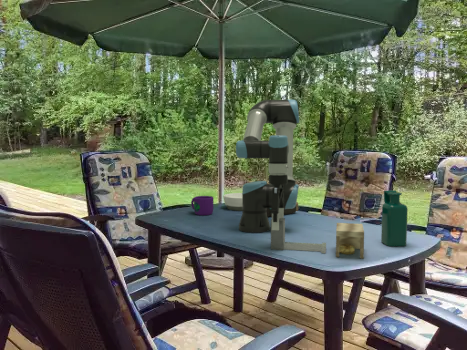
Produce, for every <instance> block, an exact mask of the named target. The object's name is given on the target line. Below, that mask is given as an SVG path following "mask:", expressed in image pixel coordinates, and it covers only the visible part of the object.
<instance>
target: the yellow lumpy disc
mask: <svg viewBox="0 0 467 350" xmlns="http://www.w3.org/2000/svg"><path fill="white" fill-rule="evenodd" d="M355 250H356V249H355V246H354V245H350V244H341V245H339V254H341V255H347V256H348V255H355Z"/></svg>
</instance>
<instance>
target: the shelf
mask: <svg viewBox="0 0 467 350" xmlns="http://www.w3.org/2000/svg"><path fill="white" fill-rule="evenodd" d="M335 231H336V234H335V235H336V236H335V237H336V238H335V257H336V258H340V253H339V245H341V244H350V245H354V246H355V250H357V249H358V250H359V258H360V259H362V260H363V259H364V257H365V256H364V255H365V254H364V251H365V229H364V224H363V223H350V222H349V223H348V222H336V229H335Z"/></svg>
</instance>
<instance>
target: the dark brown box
mask: <svg viewBox="0 0 467 350" xmlns="http://www.w3.org/2000/svg"><path fill="white" fill-rule="evenodd" d="M270 211H271V208H267V209H266V213H267V217H268V218H269V217H272V214H270ZM298 211H299V202H298V201H297V202H296V206H295V208H293V209H284V215H285V216H286V215H290V214H292V215H293V214H294V213H296V212H298Z"/></svg>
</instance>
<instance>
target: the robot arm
mask: <svg viewBox="0 0 467 350" xmlns="http://www.w3.org/2000/svg"><path fill="white" fill-rule="evenodd" d="M246 120H247V124H246V127H245V128H246V129H245V132H244V135H243V138H242V140H237V142H235V143H236V144H235V155H236V157H237V158H238V159H268V174H269V175H268V182H267V181H266V180H258V181H256V180H255V181H251V182H250V181H249V182H246V183H244V184H243V186H242V192H241V193H242V204H243V206H242V209H243V211H241V212H242V214H241V217H240V220H239V223H238V230H239V231H240V232H243V233H244V232H245V233H251V234H254V233H256V234H257V233H265V232H269V231H271V222H270V221H269V217H267V213H266V209H267V208H271V211H270V214H272V216H271V219H272V230H279V218H285V217H284V209H293V208H295V206H296V202H298V201H297V200H298V195H299V186H300V185H299V184H297V183H296V182H297V181H296V179H295V178H294V177H293V176H294V172H293V170H294V169H293V168H294V163H293V162H294V159H293V158H294V130H295V129H296V127H297V124H300V116H299V106H298V101H297V99H289V98H287V99H264V100H261V101H258V102H257V103H255V104H254V105H253V106H252V107H251V108H250V109H249V110H248V113H247V115H246ZM265 124H272V128H273V129H275V135H270V136H269V137H268V140H262V134H263V129H264V125H265Z"/></svg>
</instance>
